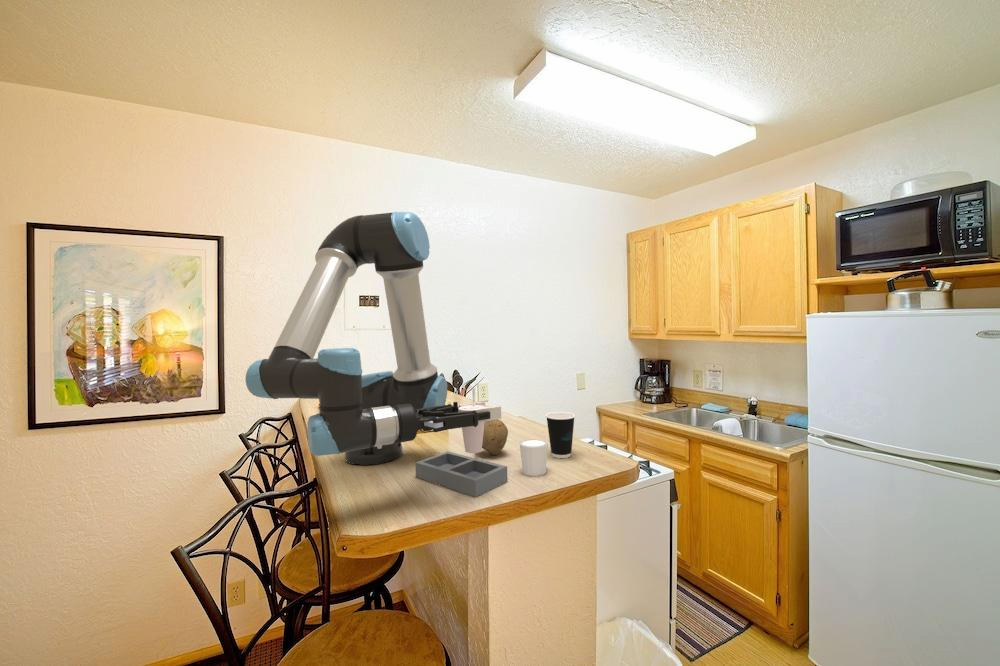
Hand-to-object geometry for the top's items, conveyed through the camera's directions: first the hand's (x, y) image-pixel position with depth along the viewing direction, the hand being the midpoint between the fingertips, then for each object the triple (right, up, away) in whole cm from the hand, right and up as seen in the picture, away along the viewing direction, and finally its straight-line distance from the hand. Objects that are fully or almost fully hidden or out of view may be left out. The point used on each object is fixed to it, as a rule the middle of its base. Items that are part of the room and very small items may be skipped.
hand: (491, 409), depth 94 cm
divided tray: (-7, -16, +1) cm, 18 cm away
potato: (0, -16, +19) cm, 24 cm away
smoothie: (-4, -9, -3) cm, 10 cm away
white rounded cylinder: (+10, -16, +5) cm, 20 cm away
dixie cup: (+18, -16, +16) cm, 29 cm away
